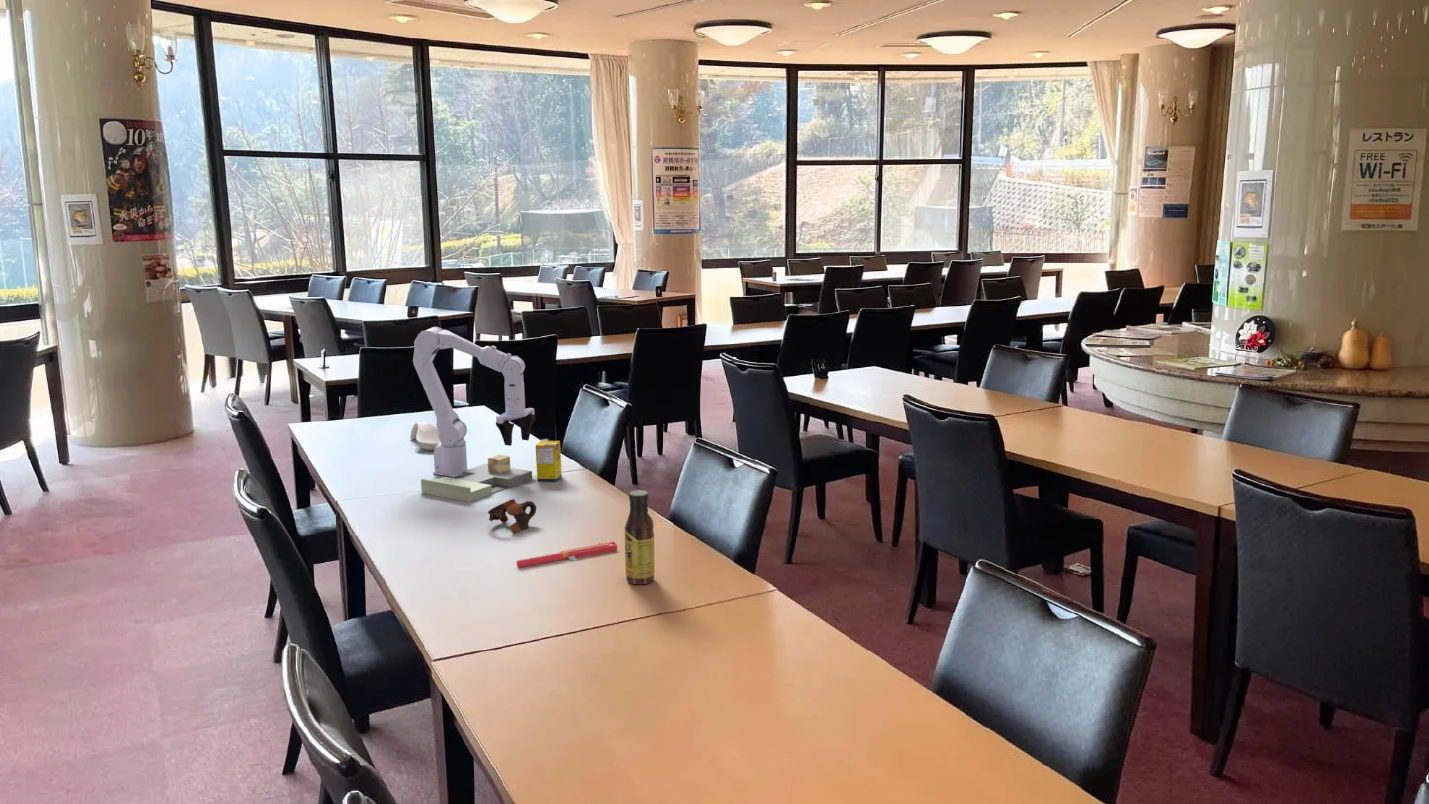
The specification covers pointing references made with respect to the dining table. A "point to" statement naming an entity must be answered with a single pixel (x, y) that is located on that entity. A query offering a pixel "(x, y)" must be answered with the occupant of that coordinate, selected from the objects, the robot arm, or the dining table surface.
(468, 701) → the dining table surface
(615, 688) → the dining table surface
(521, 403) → the robot arm
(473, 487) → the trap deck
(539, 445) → the supplement box
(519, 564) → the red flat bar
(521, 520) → the pottery mug
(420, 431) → the spoon rest
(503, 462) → the maple block
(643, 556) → the sauce bottle
